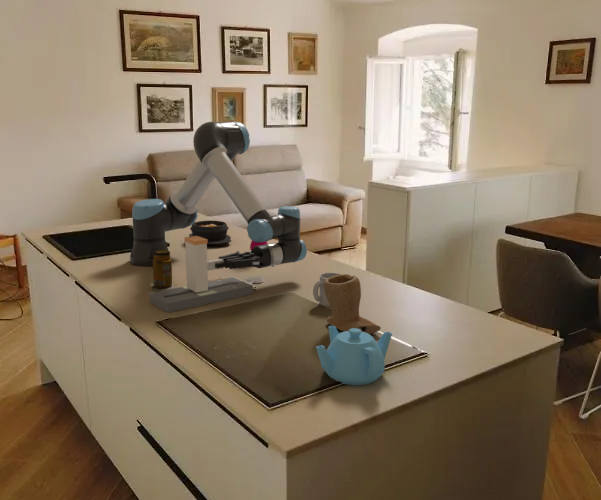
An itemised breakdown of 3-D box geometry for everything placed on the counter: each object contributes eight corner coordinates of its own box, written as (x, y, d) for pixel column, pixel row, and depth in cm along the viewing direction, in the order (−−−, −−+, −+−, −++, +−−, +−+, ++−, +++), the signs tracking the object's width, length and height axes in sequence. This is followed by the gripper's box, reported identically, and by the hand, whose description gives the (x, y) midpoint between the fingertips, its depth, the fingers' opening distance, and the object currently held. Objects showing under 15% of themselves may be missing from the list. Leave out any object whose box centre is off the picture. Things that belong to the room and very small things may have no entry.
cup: (347, 305, 183) (348, 277, 180) (319, 310, 178) (319, 281, 176) (334, 298, 189) (335, 271, 187) (307, 303, 184) (307, 275, 182)
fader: (198, 285, 189) (197, 235, 185) (208, 290, 184) (207, 239, 181) (185, 287, 186) (184, 237, 183) (196, 292, 182) (194, 241, 178)
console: (232, 285, 201) (232, 276, 200) (252, 293, 192) (252, 285, 191) (149, 301, 183) (149, 292, 182) (167, 312, 174) (167, 303, 173)
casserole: (241, 245, 258) (241, 226, 256) (201, 250, 249) (201, 230, 247) (217, 234, 279) (216, 217, 277) (179, 238, 269) (178, 220, 267)
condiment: (172, 282, 203) (170, 248, 200) (175, 289, 195) (174, 254, 193) (150, 284, 201) (148, 249, 198) (153, 291, 193) (151, 255, 190)
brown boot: (315, 324, 167) (316, 272, 163) (351, 317, 172) (352, 267, 168) (343, 342, 154) (345, 287, 150) (381, 335, 159) (384, 281, 155)
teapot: (311, 383, 131) (312, 337, 128) (328, 356, 145) (329, 315, 142) (379, 394, 127) (382, 346, 124) (390, 365, 141) (393, 322, 138)
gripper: (277, 270, 196) (215, 282, 181) (255, 262, 206) (194, 273, 191) (277, 248, 194) (214, 259, 180) (255, 241, 204) (193, 250, 190)
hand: (204, 266), depth 185 cm, fingers closed
